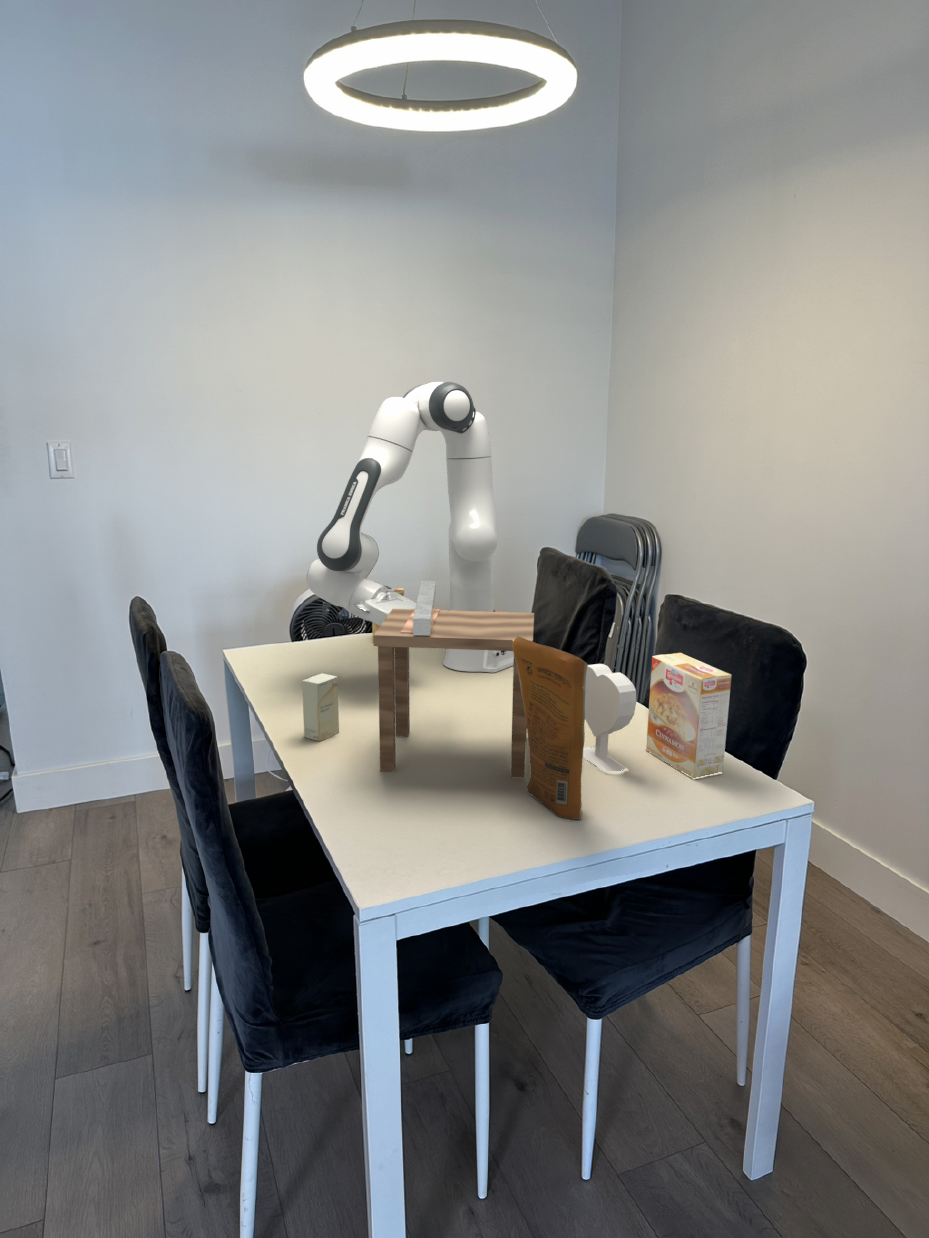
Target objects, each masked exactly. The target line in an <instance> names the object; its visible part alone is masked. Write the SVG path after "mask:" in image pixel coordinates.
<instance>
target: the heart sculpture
mask: <svg viewBox="0 0 929 1238" xmlns="http://www.w3.org/2000/svg"><path fill="white" fill-rule="evenodd" d="M636 706H637V690H636V687H635V685H634V684H633V682H632V681H631V680H630V679H629V678H628V677H627V676H626V675H625V674H623V673H621V672H612V670H611V669H610V667H609V666H608V665H606V664H604V663H595V664H588V666H587V672H586V693H585V722H586V724H587V725H588V728H590V731H591V732H592V735H593V736H594V737H595V745H594V746H591V747H592V748H589V747H590V746H586V747H587V748H583V757H585V758H586V759H585V760H586V761H587V760H588V761H591V762H592V763H594V764H595V765H596V766H597V767H598V768H600V771H601V770H602V771H607V772H608V771H621V770H622V769H623V770H624V769H625V767H626V766H624V765H623V764H621V763H620V764H621V765H620V764H619V762H618V761H617V760H615V759H614V758H613V757H611V756H610V755H608V753H609V751H608V748H609V747H608V746H609V735H611V734H613V733H615V732H617V731H621V730H622V729H623V728H624V729H625V727H627V726H628V725H629V724H630V723H631V721H632V720H633V717H634V716H635V711H636ZM593 747H595V748H593ZM609 756H610V757H609ZM588 761H587V762H588ZM616 761H617V762H618V763H617V762H616ZM622 765H623V766H624V767H623V766H622ZM597 767H596V768H597ZM598 768H597V769H598ZM623 770H622V771H623ZM602 771H601V772H602Z"/></svg>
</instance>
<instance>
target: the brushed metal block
mask: <svg viewBox="0 0 929 1238" xmlns="http://www.w3.org/2000/svg"><path fill="white" fill-rule="evenodd" d="M436 586H437V584H436V580H435V581H434V580H433V581H432V580H421V581H420V586H419V591H418V595H417V598H416V599H417V600H416V603H417V604H416V608H415V613H414V617H413V635H430V634H431V627H432V619H433V611H434V609H435V602H436V594H437V593H436Z"/></svg>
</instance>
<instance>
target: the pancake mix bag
mask: <svg viewBox="0 0 929 1238" xmlns="http://www.w3.org/2000/svg"><path fill="white" fill-rule="evenodd" d="M512 648H513V654H514V658H515V661H516V665H517V669H518V675H519V681H520V688H521V694H522V698H523V704H524V711H525V718H526V725H527V741H528V742H527V743H528V748H529V751H528V752H529V753H528V754H529V770H530V771H529V780H528V782H527V785H526V791H527V793H528V794H530V795H531V796H532V797H533V798H535V799H536V800H537V801H538V802H540V803H541V804H542V805H544V806H545V807H546V808H547V809H549V810H550V811H551V812H552V813H553V814H555V815H556V816H557V817H561V818H564V819H571V820H583V819H582V806H583V804H582V802H583V801H582V774H583V771H582V770H583V759H584V758H583V748H584V747H585V741H586V740H585V722H586V720H585V693H586V672H587V666H588V665H589V664H588V663H587V662H586V661H585V660H583V659H582V658H580V657H578V656H577V655H574V654H571V653H569V652H566V651H563V650H561V649H557V648H555V647H552V646H548V645H544V644H540V643H536V642H534V641H533V642H532V641H529V640H527V639H524V638H522V637H519V636H517V637H516V639H515V640H513V641H512Z"/></svg>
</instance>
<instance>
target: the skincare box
mask: <svg viewBox="0 0 929 1238" xmlns="http://www.w3.org/2000/svg"><path fill="white" fill-rule="evenodd" d="M301 686H302V709H303V710H302V714H303V715H302V716H303V718H302V719H303V737H304V738H307V739H310V740H314V741H318V742H322V741H324V740H326V739H328V738H329V737H332V736H335V735H337V734H339V733H340V718H339V689H338V687H339V684H338V676H337V675H333V674H329V673H323V672H322V673H318V674H316V675H313V676H310V677H308V678H305V679H302V680H301Z"/></svg>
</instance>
